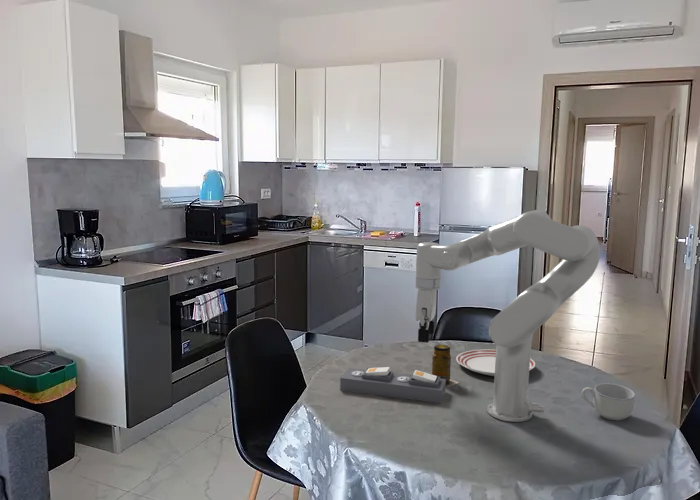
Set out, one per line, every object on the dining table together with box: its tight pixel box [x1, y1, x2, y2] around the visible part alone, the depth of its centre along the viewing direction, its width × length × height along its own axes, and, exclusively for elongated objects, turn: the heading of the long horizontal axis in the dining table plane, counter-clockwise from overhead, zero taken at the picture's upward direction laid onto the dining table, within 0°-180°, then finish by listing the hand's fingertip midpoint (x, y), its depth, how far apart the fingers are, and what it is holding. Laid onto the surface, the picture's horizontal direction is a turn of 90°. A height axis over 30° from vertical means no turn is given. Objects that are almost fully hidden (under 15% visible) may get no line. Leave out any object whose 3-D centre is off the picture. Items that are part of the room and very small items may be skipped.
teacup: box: [581, 382, 636, 421], centre depth 167 cm, size 14×11×8 cm
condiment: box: [431, 343, 460, 388], centre depth 191 cm, size 7×8×12 cm
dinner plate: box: [455, 348, 536, 377], centre depth 207 cm, size 27×27×3 cm
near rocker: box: [412, 369, 437, 383], centre depth 180 cm, size 7×4×1 cm, turn 73°
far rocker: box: [366, 366, 391, 376], centre depth 184 cm, size 7×4×1 cm, turn 73°
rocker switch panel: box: [339, 367, 447, 404], centre depth 183 cm, size 32×10×5 cm, turn 73°
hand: (425, 337), depth 179 cm, fingers open, 9 cm apart
